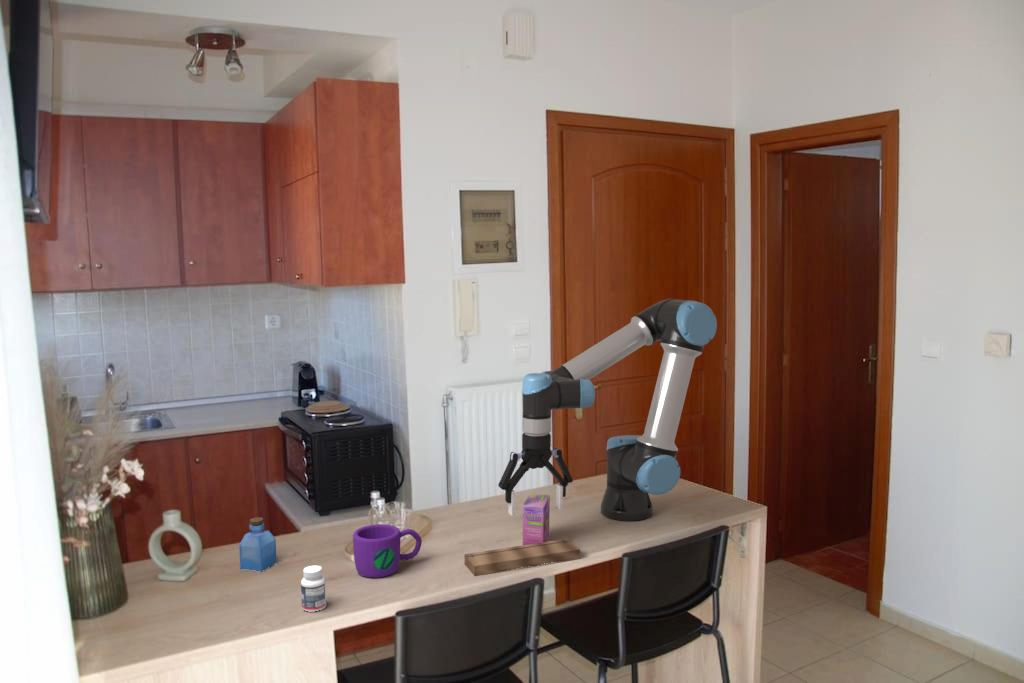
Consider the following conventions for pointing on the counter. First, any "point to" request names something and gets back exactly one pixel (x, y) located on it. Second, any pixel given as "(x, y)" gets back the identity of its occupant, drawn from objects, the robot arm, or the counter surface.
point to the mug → (380, 549)
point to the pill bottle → (313, 589)
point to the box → (536, 519)
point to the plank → (521, 556)
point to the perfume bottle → (257, 547)
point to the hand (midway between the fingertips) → (535, 511)
